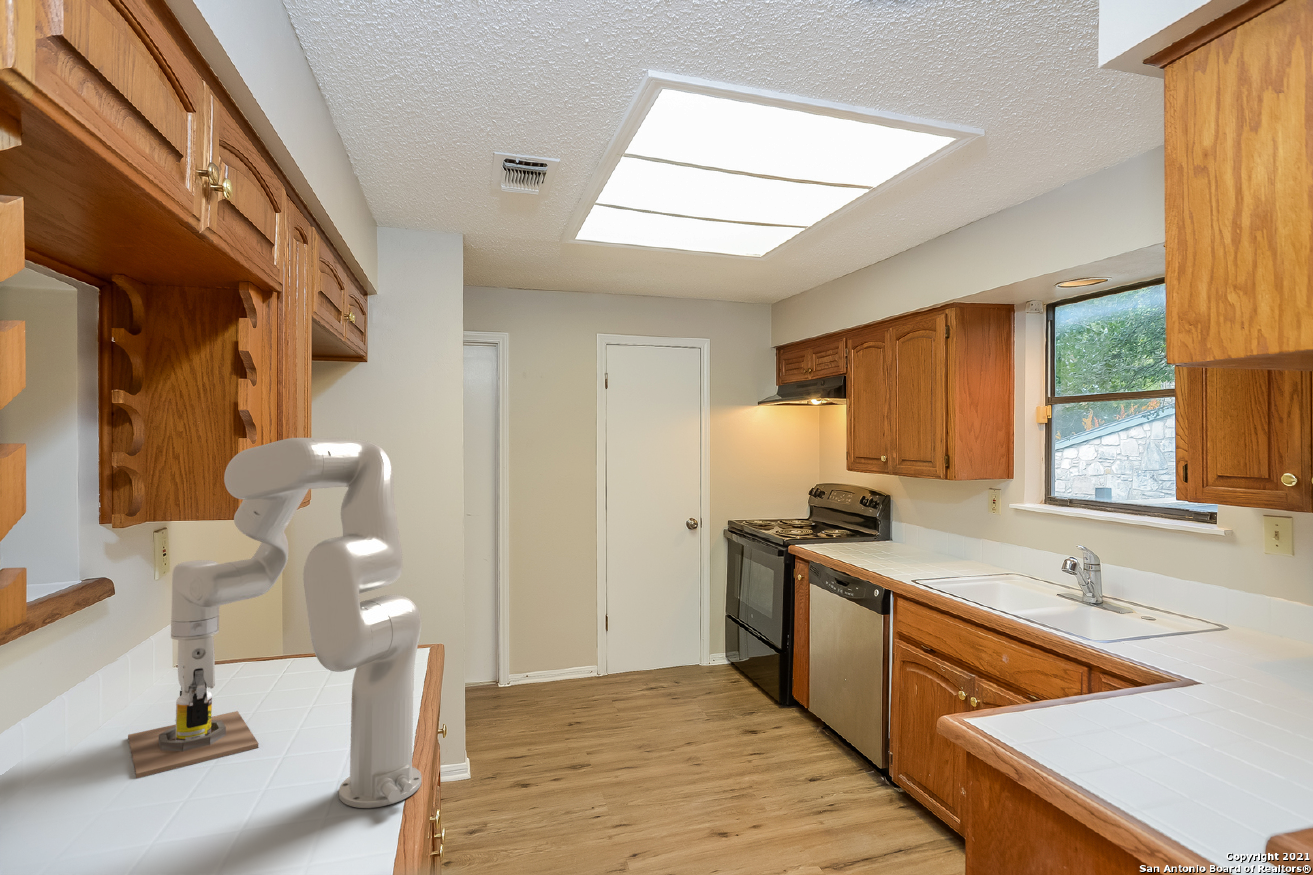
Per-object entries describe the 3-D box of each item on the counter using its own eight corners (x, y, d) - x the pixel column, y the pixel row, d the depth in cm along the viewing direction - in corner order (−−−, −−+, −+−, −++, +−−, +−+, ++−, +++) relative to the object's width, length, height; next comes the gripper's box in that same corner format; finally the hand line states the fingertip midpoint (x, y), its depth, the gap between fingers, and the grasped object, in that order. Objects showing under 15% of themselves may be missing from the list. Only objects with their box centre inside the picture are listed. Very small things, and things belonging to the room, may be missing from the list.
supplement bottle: (212, 740, 125) (213, 685, 125) (176, 748, 122) (177, 692, 122) (209, 730, 130) (210, 677, 130) (174, 737, 126) (175, 683, 126)
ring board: (258, 747, 124) (258, 735, 124) (136, 778, 112) (136, 764, 112) (237, 714, 139) (237, 703, 139) (127, 738, 127) (128, 726, 127)
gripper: (227, 633, 122) (224, 726, 122) (211, 614, 135) (209, 699, 135) (176, 640, 117) (174, 738, 117) (165, 620, 130) (163, 708, 130)
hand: (193, 717), depth 126 cm, fingers open, 9 cm apart
